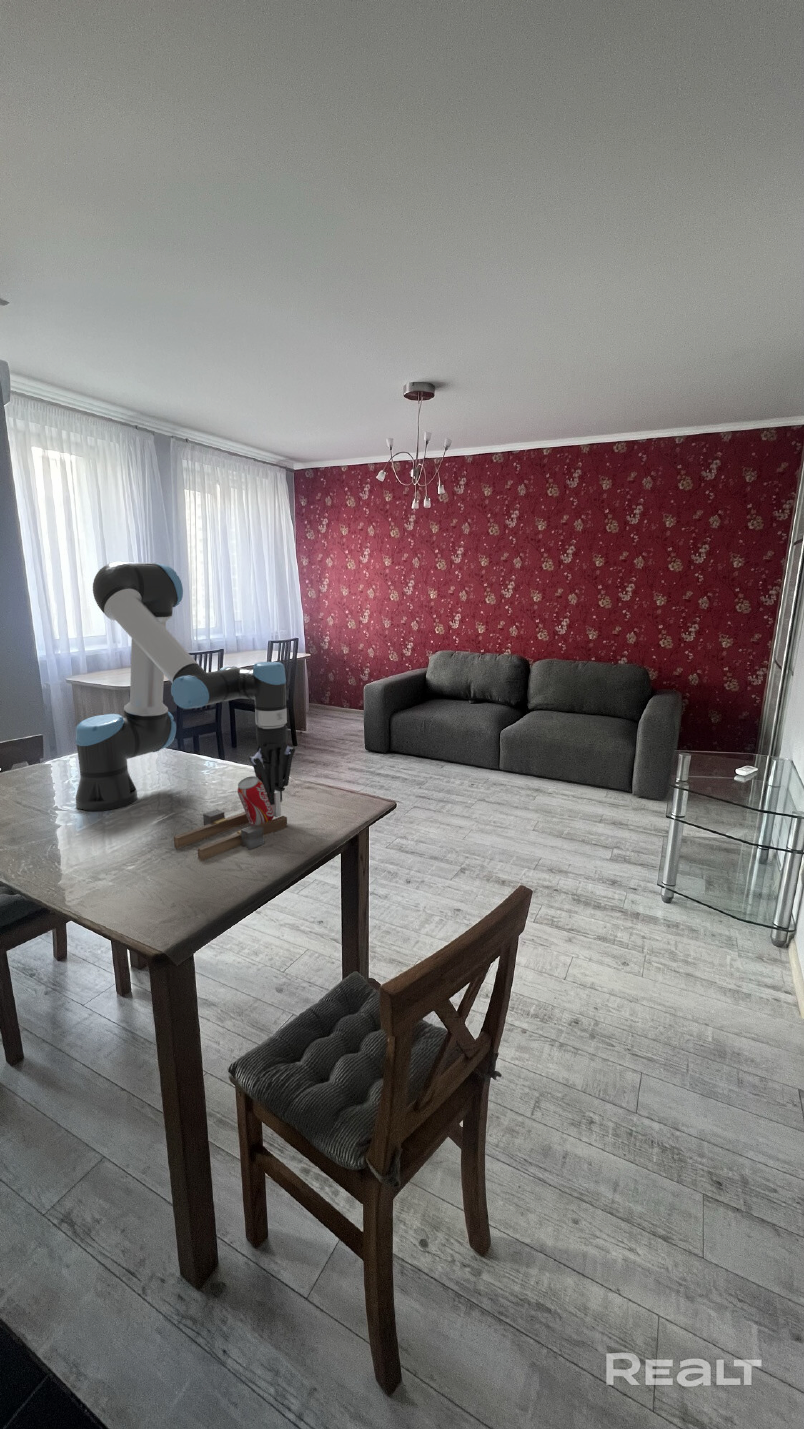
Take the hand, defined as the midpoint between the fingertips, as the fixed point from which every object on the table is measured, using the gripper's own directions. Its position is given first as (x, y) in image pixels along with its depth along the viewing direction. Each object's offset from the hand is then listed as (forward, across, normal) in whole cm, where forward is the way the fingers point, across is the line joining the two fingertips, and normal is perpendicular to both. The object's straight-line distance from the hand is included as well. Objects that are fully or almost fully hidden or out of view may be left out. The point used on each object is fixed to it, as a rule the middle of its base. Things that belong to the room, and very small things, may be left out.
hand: (275, 815), depth 151 cm
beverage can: (+1, -4, 0) cm, 4 cm away
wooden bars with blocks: (+1, -13, 0) cm, 13 cm away
